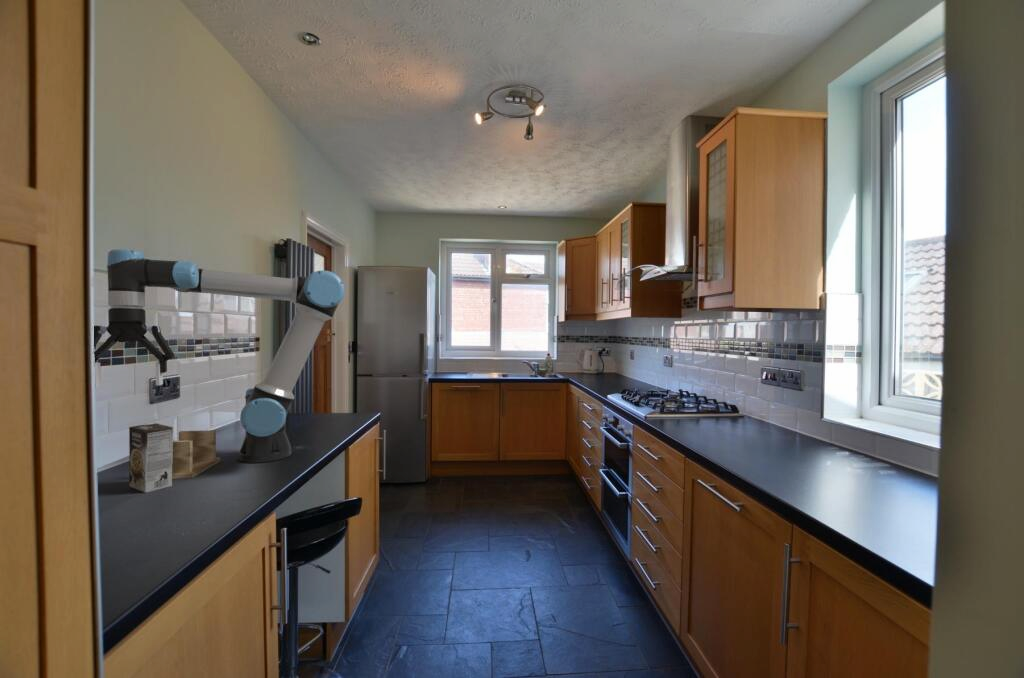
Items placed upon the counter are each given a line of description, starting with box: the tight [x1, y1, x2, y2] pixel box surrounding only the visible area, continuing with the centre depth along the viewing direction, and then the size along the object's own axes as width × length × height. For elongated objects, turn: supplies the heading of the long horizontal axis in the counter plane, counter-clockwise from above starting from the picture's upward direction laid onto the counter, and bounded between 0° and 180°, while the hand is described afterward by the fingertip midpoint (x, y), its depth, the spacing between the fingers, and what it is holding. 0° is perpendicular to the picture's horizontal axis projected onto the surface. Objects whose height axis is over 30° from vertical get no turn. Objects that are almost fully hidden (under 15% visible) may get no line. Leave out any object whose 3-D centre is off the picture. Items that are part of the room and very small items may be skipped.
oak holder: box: [172, 429, 221, 480], centre depth 130 cm, size 12×16×10 cm
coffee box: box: [128, 422, 174, 493], centre depth 116 cm, size 9×6×16 cm
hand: (128, 386), depth 118 cm, fingers open, 13 cm apart
